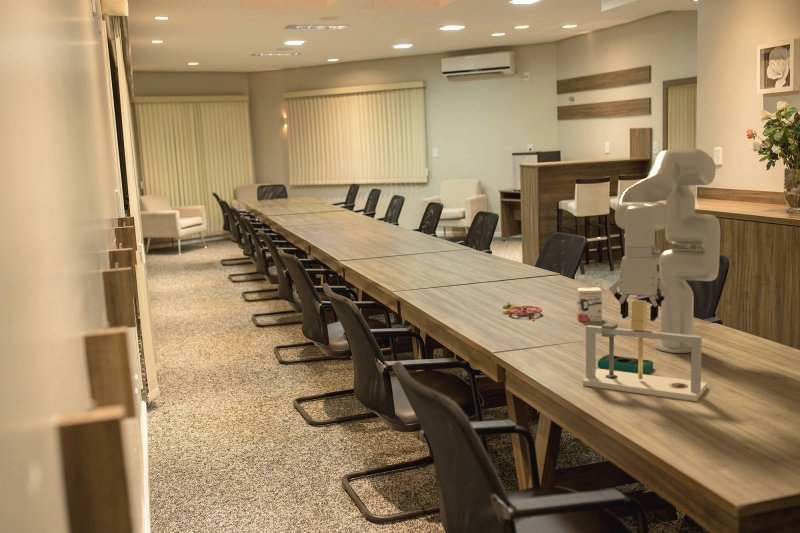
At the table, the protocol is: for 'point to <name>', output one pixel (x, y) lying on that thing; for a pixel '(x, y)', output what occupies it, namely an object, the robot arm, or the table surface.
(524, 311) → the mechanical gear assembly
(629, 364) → the digital multimeter
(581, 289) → the ink box
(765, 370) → the table surface
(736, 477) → the table surface
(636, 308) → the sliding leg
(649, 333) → the white rack frame
